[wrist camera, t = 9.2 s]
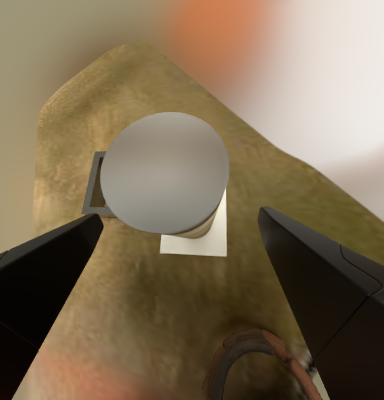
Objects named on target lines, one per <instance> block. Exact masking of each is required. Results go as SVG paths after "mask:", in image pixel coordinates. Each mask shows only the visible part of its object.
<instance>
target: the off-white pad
mask: <svg viewBox="0 0 384 400" xmlns="http://www.w3.org/2000/svg"><path fill="white" fill-rule="evenodd" d="M160 253H169V254H188V255H207V256H225V257H227V245H226V189H225V192H224V194H223V197H222V200H221V202H220V205H219V208H218V210H217V213H216V216H215V218H214V221H213V224H212V226H211V229H210V230H209V232H208V233H207V234H206V235H205V236H203V237H201V238H199V239H188V238H182V237H176V236H170V235H163V234H162V235H161V247H160Z"/></svg>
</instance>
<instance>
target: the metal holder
mask: <svg viewBox="0 0 384 400" xmlns="http://www.w3.org/2000/svg"><path fill="white" fill-rule="evenodd" d="M106 152H107V151H104V152H95V155H94V159H93V164H92V168H91V173H90V177H89V182H88V186H87V191H86V195H85V200H84V205H83V209H82V214H85V215H87V214H90V213H97V214H99V216H100V217H115V218H118V217H117V216H116V215H115V214H114V213H113V212H112V211H111V209H110V208H108V207H104V204H105V199H104V196H103V193H102V189H101V182H100V173H101V166H102V162H103V159H104V156H105V154H106Z"/></svg>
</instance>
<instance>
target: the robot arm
mask: <svg viewBox="0 0 384 400" xmlns="http://www.w3.org/2000/svg"><path fill="white" fill-rule="evenodd" d="M258 225H259V229H260V232H261V235H262V239H263V242H264V246H265V249H266V251H267V254H268V256H269V258H270V261H271V263H272V265H273V268H274V270H275V272H276V275H277V277H278V279H279V282H280V284H281V286H282V289H283V291H284V293H285V296H286V298H287V300H288V302H289V305H290V307H291V309H292V312H293V314H294V316H295V319H296V321H297V323H298V326H299V328H300V330H301V333H302V335H303V337H304V340H305V342H306V344H307V347H308V349H309V351H310V354H311V356H312V358H313V359H314V363H315V366H316V368H317V370H318V373H319V375H320V377H321V380H322V382H323V384H324V387H325V389H326V391H327V393H328V396H329V398H330V400H384V265H381V264H379V263H377V262H375V261H373V260H371V259H369V258H367V257H365V256H363V255H361V254H359V253H357V252H355V251H353V250H351V249H349V248H347V247H345V246H343V245H341V244H340V245H339V243H338V242H336V241H334V240H332V239H330V238H328V237H326V236H324V235H322V234H320V233H318V232H316V231H315V230H313V229H311V228H309V227H307V226H305V225H303V224H301V223H299V222H297V221H295V220H293V219H291V218H290V217H288V216H286V215H284V214H282V213H280V212H278V211H276V210H274V209H272V208H270V207H261V208H260V210H259V216H258ZM103 227H104V225H103V222H102V220H101V218H100V216H99V214H97V213H90V214H87V215H85V216H83V217H81V218H78V219H76V220H74V221H72V222H70V223H67V224H65V225H63V226H61V227H59V228H56V229H54V230H52V231H50V232H47V233H45V234H43V235H41V236H39V237H36V238H34V239H32V240H30V241H27V242H25V243H23V244H21V245H19V246H16V247H14V248H12V249H10V250H9V251H5V252H3V253H1V254H0V400H12V398H13V396H14V394H15V392H16V391H17V389H18V387H19V385H20V383H21V382H22V380H23V378H24V376H25V375H26V373H27V371H28V369H29V367H30V365H31V364H32V362H33V360H34V358H35V356H36V355H37V353H38V351H39V350H38V349H40V347H41V345H42V343H43V342H44V340H45V338H46V336H47V334H48V333H49V331H50V329H51V327H52V325H53V324H54V322H55V320H56V318H57V316H58V315H59V313H60V311H61V309H62V307H63V306H64V304H65V302H66V300H67V298H68V297H69V295H70V293H71V291H72V289H73V288H74V286H75V284H76V282H77V280H78V279H79V277H80V275H81V273H82V271H83V270H84V268H85V266H86V264H87V262H88V260H89V259H90V257H91V255H92V253H93V251H94V249H95V247H96V244H97V242H98V240H99V237H100V235H101V233H102V230H103Z"/></svg>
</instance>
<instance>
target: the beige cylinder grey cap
mask: <svg viewBox="0 0 384 400" xmlns="http://www.w3.org/2000/svg"><path fill="white" fill-rule="evenodd" d="M229 171H230V163H229V156H228V152H227V149H226V146H225V144H224V142H223V140H222V139H221V137H220V136H219V134H218V133H217V132H216V131H215V130H214V129H213V128H212V127H211V126H210V125H209V124H207V123H206V122H204V121H203V120H201V119H199V118H197V117H194V116H192V115H188V114H184V113H178V112H164V113H157V114H152V115H149V116H146V117H144V118H141V119H139V120H137V121H135V122H134V123H132V124H130V125H129V126H128V127H126V128H125V129H124V130H123V131H122V132H120V133H119V135H118V136H117V137H116V138H115V139H114V140H113V142H112V143H111V145H110V146H109V148H108V150H107V152H106V154H105V156H104V159H103V162H102V166H101V173H100V182H101V189H102V193H103V196H104V199H105V201H106V203H107V205H108V206H109V208H110V209H111V211H112V212H113V213H114V214H115V215H116V216H117V217H118V218H119V219H120V220H121V221H123V222H124V223H126V224H128V225H129V226H131V227H133V228H136V229H138V230H142V231H146V232H151V233H157V234H163V235H170V236H176V237H182V238H188V239H199V238H201V237H203V236H205V235H206V234H207V233H208V232H209V230H210V229H211V226H212V224H213V221H214V218H215V216H216V213H217V210H218V208H219V205H220V202H221V200H222V197H223V194H224V192H225V189H226V186H227V183H228V178H229Z"/></svg>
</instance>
